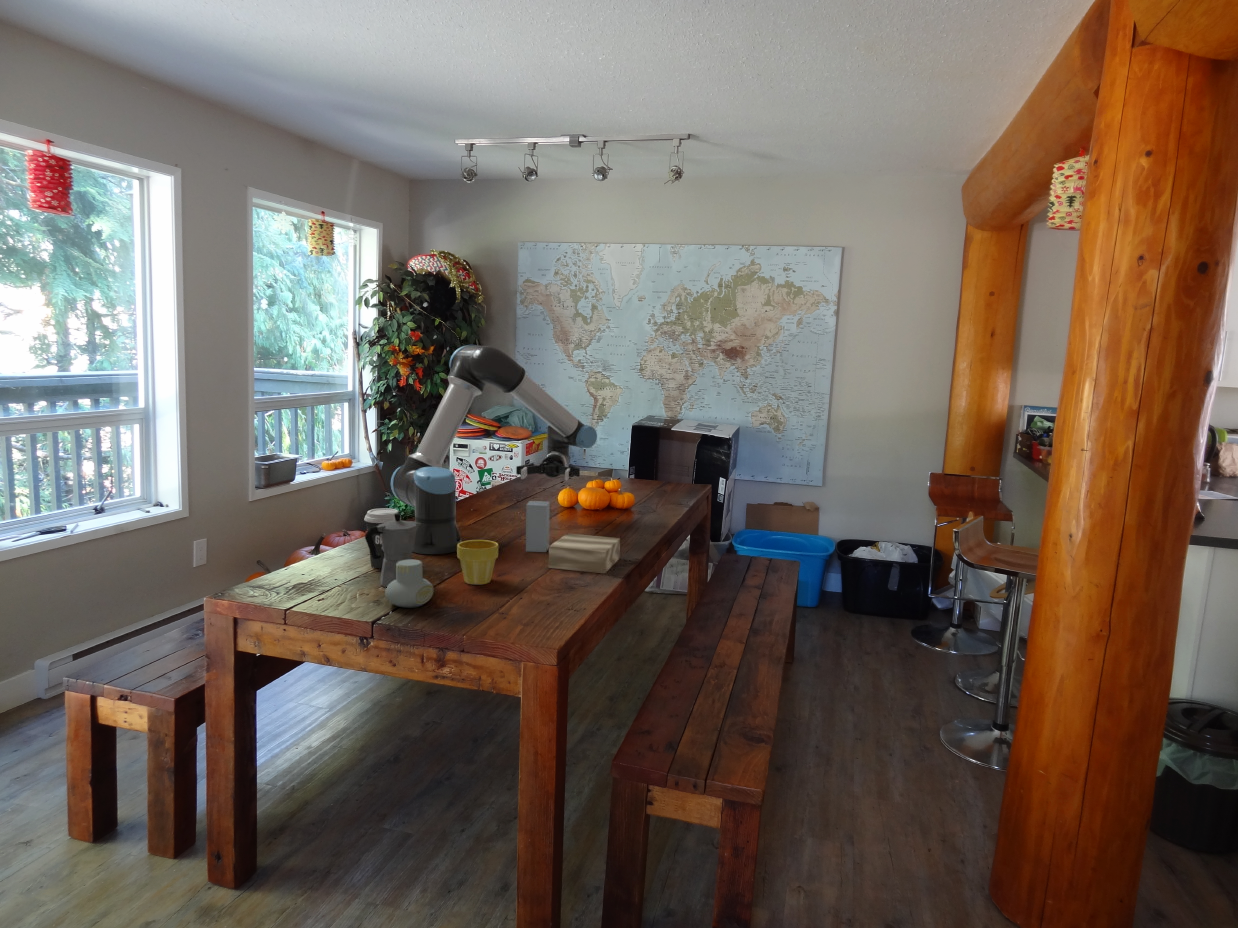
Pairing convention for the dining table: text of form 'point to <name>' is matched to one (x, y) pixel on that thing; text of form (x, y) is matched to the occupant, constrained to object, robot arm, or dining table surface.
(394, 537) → the coffeepot
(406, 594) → the air freshener
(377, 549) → the coffee cup
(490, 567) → the plant pot
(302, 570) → the dining table surface
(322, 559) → the dining table surface
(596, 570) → the birch block
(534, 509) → the slate block
